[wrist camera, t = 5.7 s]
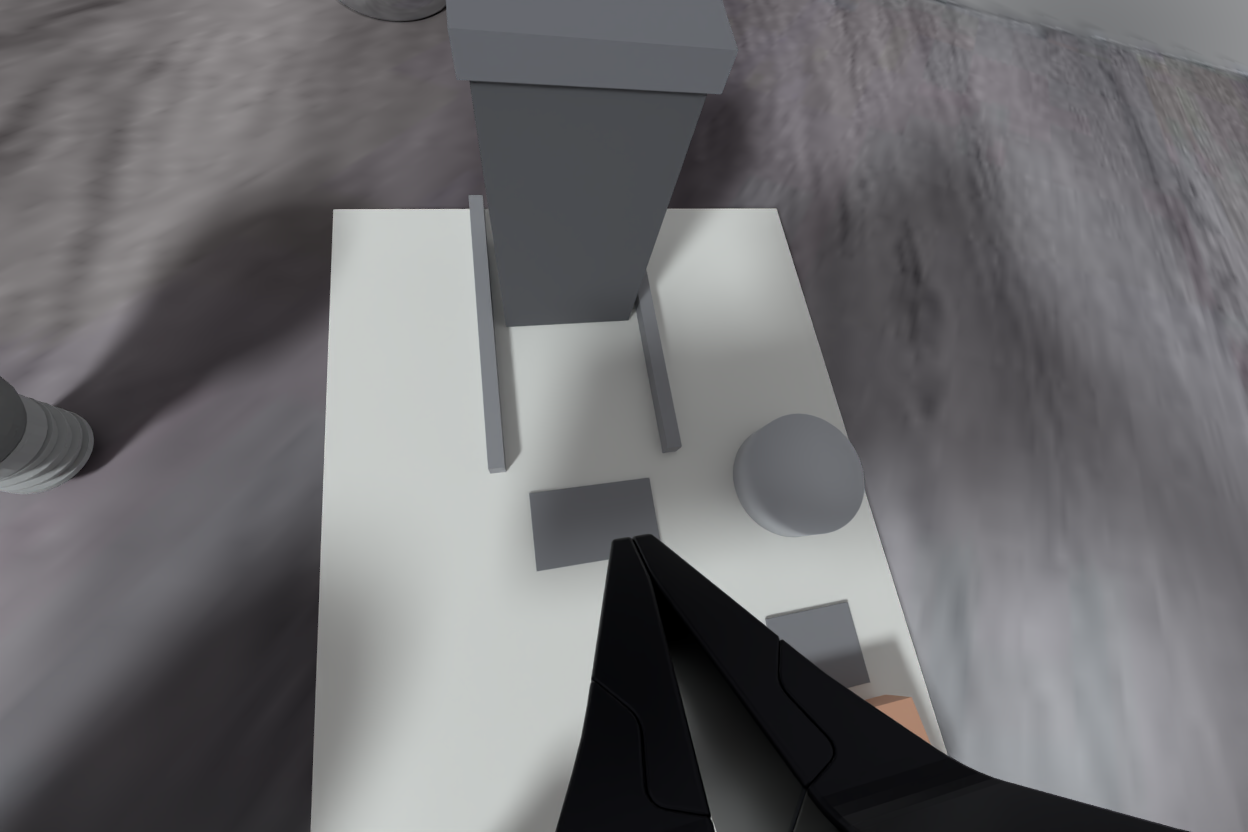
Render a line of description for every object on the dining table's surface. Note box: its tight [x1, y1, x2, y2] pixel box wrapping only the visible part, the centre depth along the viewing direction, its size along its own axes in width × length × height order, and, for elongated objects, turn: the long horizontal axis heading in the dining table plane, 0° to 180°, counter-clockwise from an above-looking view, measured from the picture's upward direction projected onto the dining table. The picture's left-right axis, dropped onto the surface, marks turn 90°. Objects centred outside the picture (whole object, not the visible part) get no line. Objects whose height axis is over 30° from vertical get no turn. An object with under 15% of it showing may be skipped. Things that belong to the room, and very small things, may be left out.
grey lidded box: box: [446, 0, 738, 327], centre depth 13 cm, size 4×5×10 cm
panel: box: [311, 195, 948, 832], centre depth 14 cm, size 28×18×3 cm, turn 9°
